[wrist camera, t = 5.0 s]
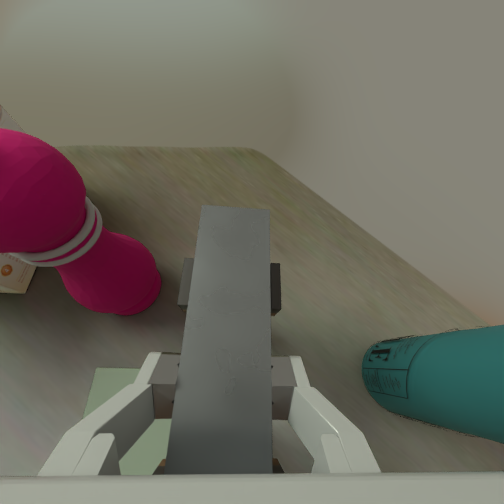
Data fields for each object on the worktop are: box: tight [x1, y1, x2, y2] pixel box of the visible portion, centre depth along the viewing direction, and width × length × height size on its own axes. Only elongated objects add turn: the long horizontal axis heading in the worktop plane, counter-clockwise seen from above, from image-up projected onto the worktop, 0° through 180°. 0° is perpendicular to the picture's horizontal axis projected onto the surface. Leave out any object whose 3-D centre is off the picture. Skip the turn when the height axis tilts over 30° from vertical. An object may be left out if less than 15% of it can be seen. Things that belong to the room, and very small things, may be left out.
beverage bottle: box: [362, 325, 504, 444], centre depth 15 cm, size 6×7×20 cm
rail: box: [164, 205, 273, 475], centre depth 10 cm, size 4×16×3 cm, turn 179°
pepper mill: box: [0, 128, 161, 315], centre depth 17 cm, size 7×7×20 cm
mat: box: [82, 368, 172, 475], centre depth 18 cm, size 8×17×1 cm, turn 179°
